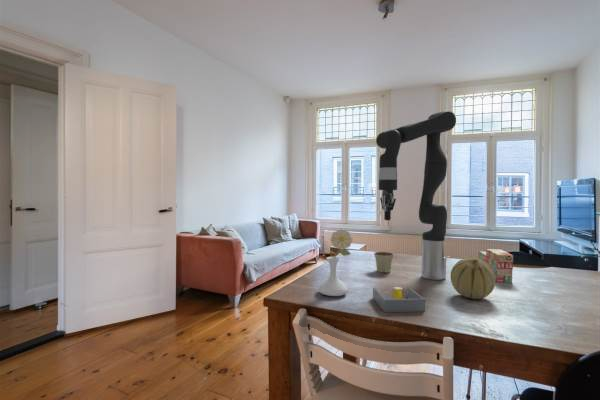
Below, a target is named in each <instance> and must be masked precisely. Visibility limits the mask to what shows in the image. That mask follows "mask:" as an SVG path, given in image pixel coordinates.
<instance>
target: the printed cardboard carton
mask: <svg viewBox="0 0 600 400" xmlns="http://www.w3.org/2000/svg"><path fill="white" fill-rule="evenodd" d="M478 259H479V260H482V261H483V262H485V263H486V264H488V265H489V266H490V267H491V269H492V271H493V273H494V276H495V283H508V284H512V283H513V269H514V267H513V266H514V254H511V253H510V252H507V251H505V250H502V249H499V248H498V249H497V248H495V249H494V248H492V249H491V248H486V251H480V250H479V251H478Z"/></svg>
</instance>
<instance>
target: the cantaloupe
mask: <svg viewBox="0 0 600 400" xmlns="http://www.w3.org/2000/svg"><path fill="white" fill-rule="evenodd" d="M450 281H451V282H450V283H451V285H452V287H453V289H454V290H455V291H456V292H457V293H458V294H459V295H461V296H462V297H465V298H467V299H471V300H478V299H479V300H480V299H481V300H482V299H485V298H487V297H488V296H489V295H490V294H491V293H492V292H493V291H494V289H495V286H496V281H495V276H494V273H493V271H492V269H491V267H490V266H489V265H488V264H486V263H485V262H483V261H482V260H479V258H472V257H466V258H462V259H460V260H458V261H457V262H456V263H455V264H454V265H453V267H452V268H451V270H450Z"/></svg>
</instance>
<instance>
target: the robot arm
mask: <svg viewBox="0 0 600 400" xmlns="http://www.w3.org/2000/svg"><path fill="white" fill-rule="evenodd" d="M456 124H457V118H456V115H455V113H454V112H453V111H452V110H441V111H439V112H436V113H432V114H431V115H429V116H428V118H427V119H425V120H420V121H416V122H412V123H411V122H410V123H407V124H405V125H402V126H400V127H397V128H395V129H389V130H385V131H382V132H380V133H379V134H378V135H377V136H376V139H375V142H376V145H377V146H378V148H380V149H385V151H384V152H383V154H381V155H380V156H379V170H378V190H379V191H382V194H381V197H379V200H380V203H381V209H382V210H383V211H384V212H383V213H384V216H383V219H384V221H391V215H392V214H391V212H392V211H393V210H394V207H395V204H396V200H397V198H396V197H395V195H394V191H398V156H399V152H400V149H401V145H402V144H404V143H409V142H411V141H414V140H416V139H420V138H422V137H425V136H426V147H425V148H426V150H425V151H426V152H425V162H424V169H423V171H424V172H423V183H422V184H423V186H422V193H421V198H420V203H419V208H418V219H419V222H421V224H425V225H432V228H431V229H430V230H428V231H424V232H423V233H422V234H421V235H422V236H421V237H422V240H421V241H422V243H421V245H422V247H421V248H422V250H421V277H422V278H424V279H427V280H433V281H440V280H441V281H442V280H446V278H447V274H446V273H447V257H446V256H445V240H446V239H445V238H446V233H447V223H448V222H447V220H448V211H447V207H446V206H445V205H443V204H437V203H436V204H434V203H433V200H434V196H435V194H436V192H437V190H438V189H439V187H440V186H441V185H442V183H443V182H444V180H445V178H446V177H447V167H448V159H447V157H446V155H445V152H444V151H443V149H442V147H441V134H442V133H445V132H449V131H451V130H452V129H454V127H455V126H456Z"/></svg>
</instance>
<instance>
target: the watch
mask: <svg viewBox="0 0 600 400" xmlns="http://www.w3.org/2000/svg"><path fill="white" fill-rule="evenodd" d="M402 292H403V287H399V286H395V287H393V299H404V298H403V293H402Z"/></svg>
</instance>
